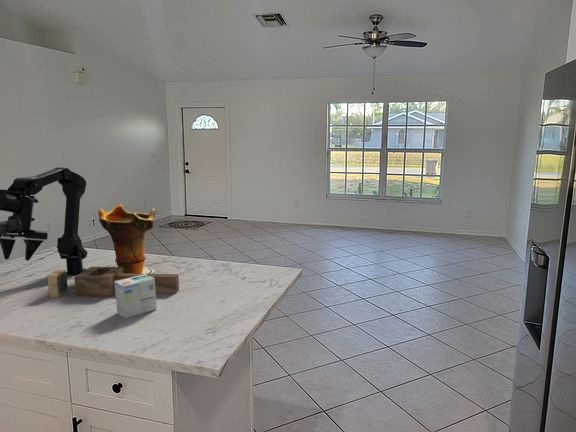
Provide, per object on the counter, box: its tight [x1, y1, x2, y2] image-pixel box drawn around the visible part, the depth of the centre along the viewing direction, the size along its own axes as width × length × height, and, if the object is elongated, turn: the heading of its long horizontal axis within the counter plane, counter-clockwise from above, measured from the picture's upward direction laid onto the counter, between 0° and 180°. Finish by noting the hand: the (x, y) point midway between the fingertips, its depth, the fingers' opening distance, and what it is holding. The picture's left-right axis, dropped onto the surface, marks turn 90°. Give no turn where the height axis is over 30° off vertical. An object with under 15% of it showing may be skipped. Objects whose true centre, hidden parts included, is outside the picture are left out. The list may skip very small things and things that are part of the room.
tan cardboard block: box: [46, 269, 69, 298], centre depth 149 cm, size 6×4×8 cm, turn 178°
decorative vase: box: [98, 203, 156, 274], centre depth 170 cm, size 21×23×28 cm
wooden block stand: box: [73, 266, 180, 298], centre depth 152 cm, size 12×34×7 cm, turn 88°
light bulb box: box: [114, 274, 158, 320], centre depth 134 cm, size 11×7×11 cm, turn 134°
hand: (16, 259), depth 143 cm, fingers open, 9 cm apart
